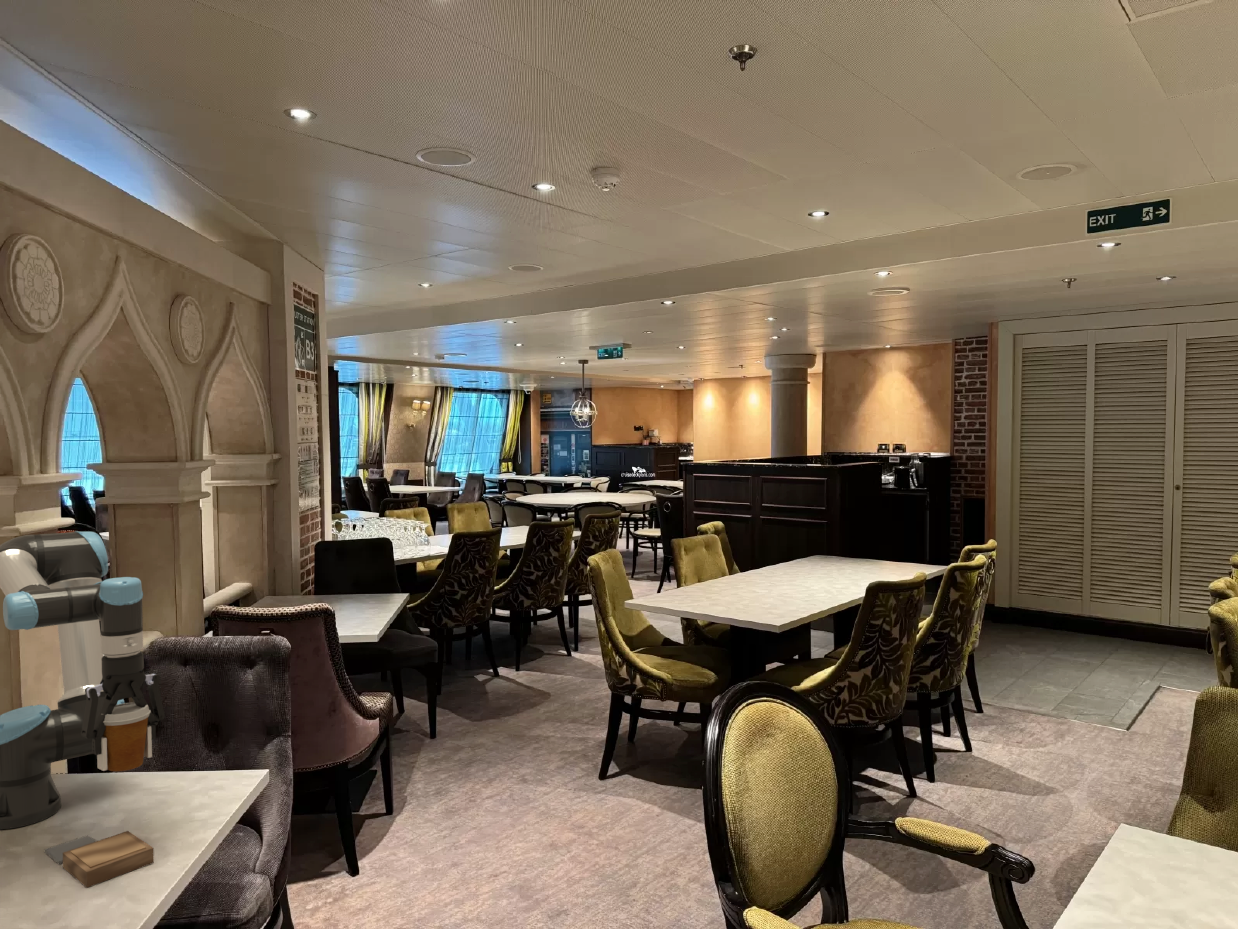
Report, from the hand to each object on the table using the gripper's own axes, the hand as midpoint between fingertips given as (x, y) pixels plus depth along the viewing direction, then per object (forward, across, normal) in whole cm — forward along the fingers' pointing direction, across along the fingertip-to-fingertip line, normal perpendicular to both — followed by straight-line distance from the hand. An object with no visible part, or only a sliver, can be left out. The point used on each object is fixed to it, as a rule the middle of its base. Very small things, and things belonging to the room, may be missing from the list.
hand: (125, 762), depth 176 cm
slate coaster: (+18, -7, +7) cm, 20 cm away
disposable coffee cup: (+1, 0, 0) cm, 1 cm away
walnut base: (+18, -6, -5) cm, 19 cm away
